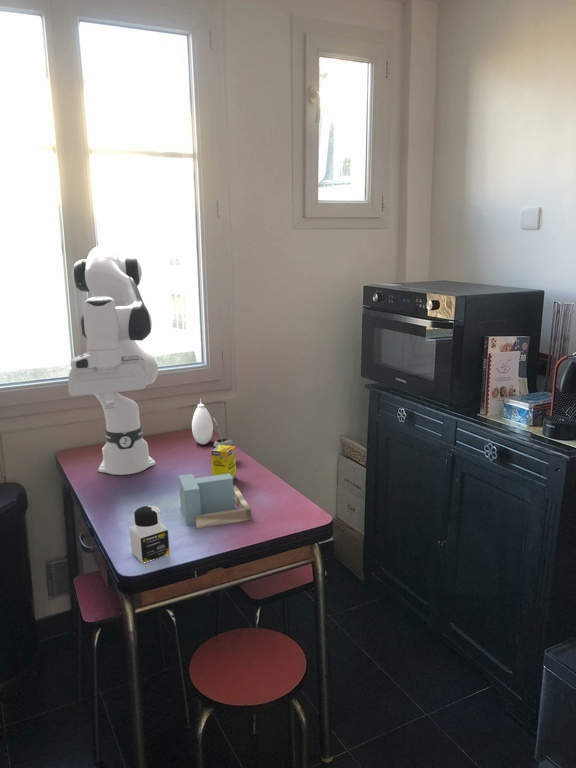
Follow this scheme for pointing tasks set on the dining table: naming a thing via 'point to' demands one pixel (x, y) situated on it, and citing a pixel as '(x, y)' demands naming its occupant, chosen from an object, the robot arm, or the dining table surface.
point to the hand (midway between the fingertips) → (110, 408)
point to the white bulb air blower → (202, 425)
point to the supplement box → (223, 460)
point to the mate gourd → (222, 439)
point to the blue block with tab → (205, 495)
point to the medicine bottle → (148, 535)
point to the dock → (226, 513)
